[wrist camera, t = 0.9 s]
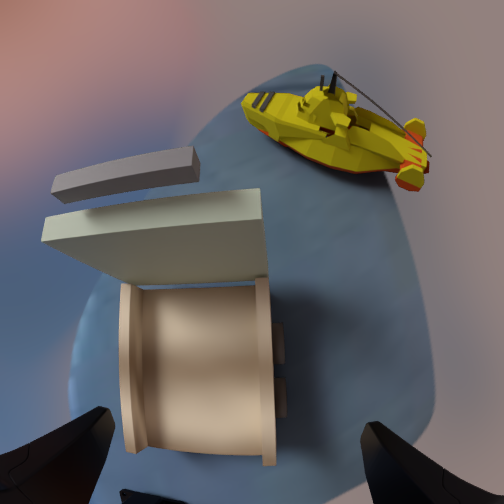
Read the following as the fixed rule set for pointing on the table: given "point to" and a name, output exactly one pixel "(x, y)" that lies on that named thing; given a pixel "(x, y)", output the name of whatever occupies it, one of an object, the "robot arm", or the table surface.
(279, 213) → the table surface
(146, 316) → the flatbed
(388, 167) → the toy boat
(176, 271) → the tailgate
